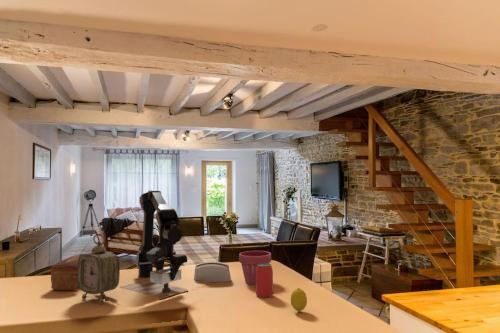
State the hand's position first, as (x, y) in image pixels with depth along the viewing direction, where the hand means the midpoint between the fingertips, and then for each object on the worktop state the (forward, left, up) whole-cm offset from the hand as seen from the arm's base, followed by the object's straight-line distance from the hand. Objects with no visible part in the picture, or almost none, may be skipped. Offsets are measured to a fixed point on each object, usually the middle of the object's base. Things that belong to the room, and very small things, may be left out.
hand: (166, 279), depth 150 cm
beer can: (+34, +20, -6) cm, 40 cm away
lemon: (+54, +11, -6) cm, 56 cm away
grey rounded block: (+2, +25, -6) cm, 26 cm away
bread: (-45, -11, -6) cm, 47 cm away
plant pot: (+19, +35, -6) cm, 40 cm away
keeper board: (-8, 0, -6) cm, 10 cm away
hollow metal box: (0, 0, -1) cm, 1 cm away
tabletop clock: (-15, -20, -6) cm, 26 cm away
